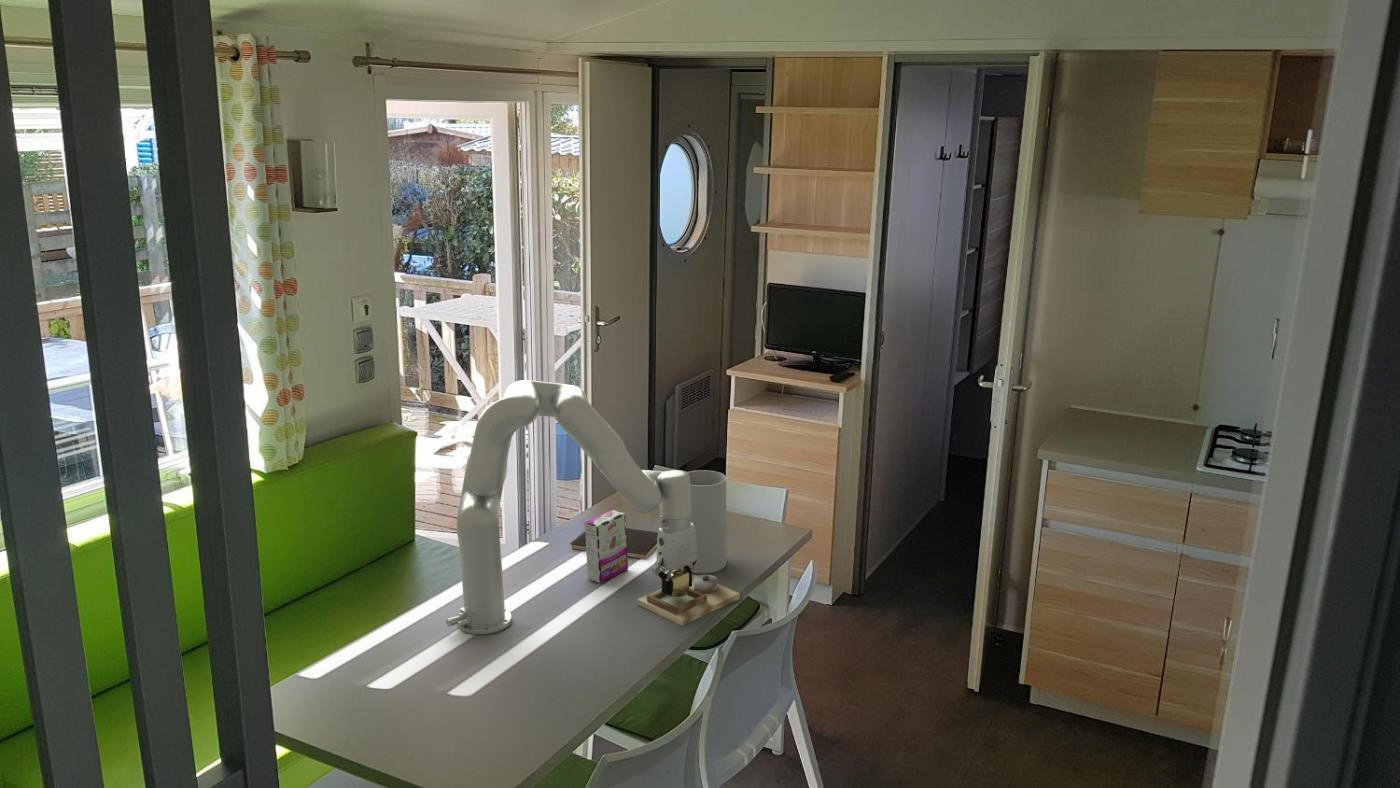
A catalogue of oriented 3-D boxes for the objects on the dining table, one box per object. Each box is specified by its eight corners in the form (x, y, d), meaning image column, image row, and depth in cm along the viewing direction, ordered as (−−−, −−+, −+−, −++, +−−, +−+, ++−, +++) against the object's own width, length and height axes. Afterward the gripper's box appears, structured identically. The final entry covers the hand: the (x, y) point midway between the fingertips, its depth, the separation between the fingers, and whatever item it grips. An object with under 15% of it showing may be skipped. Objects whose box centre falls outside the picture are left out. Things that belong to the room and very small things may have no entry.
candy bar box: (614, 565, 280) (612, 508, 276) (628, 570, 277) (626, 512, 273) (586, 579, 271) (583, 521, 267) (600, 584, 268) (597, 525, 264)
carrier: (681, 625, 246) (681, 607, 245) (637, 604, 257) (637, 586, 256) (739, 598, 259) (739, 581, 258) (695, 579, 270) (694, 562, 269)
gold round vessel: (676, 599, 250) (676, 577, 249) (660, 592, 254) (659, 570, 253) (694, 591, 254) (694, 569, 253) (677, 584, 258) (677, 562, 257)
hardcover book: (645, 561, 284) (645, 553, 283) (570, 550, 291) (570, 543, 291) (667, 539, 298) (666, 532, 297) (594, 530, 306) (594, 523, 305)
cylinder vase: (700, 552, 288) (699, 467, 281) (735, 563, 280) (735, 476, 274) (670, 566, 278) (669, 479, 272) (706, 579, 271) (705, 489, 264)
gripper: (659, 535, 241) (661, 605, 246) (711, 515, 253) (712, 583, 257) (638, 526, 246) (640, 596, 251) (690, 507, 258) (691, 574, 263)
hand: (677, 588), depth 254 cm, fingers closed on gold round vessel, 6 cm apart
